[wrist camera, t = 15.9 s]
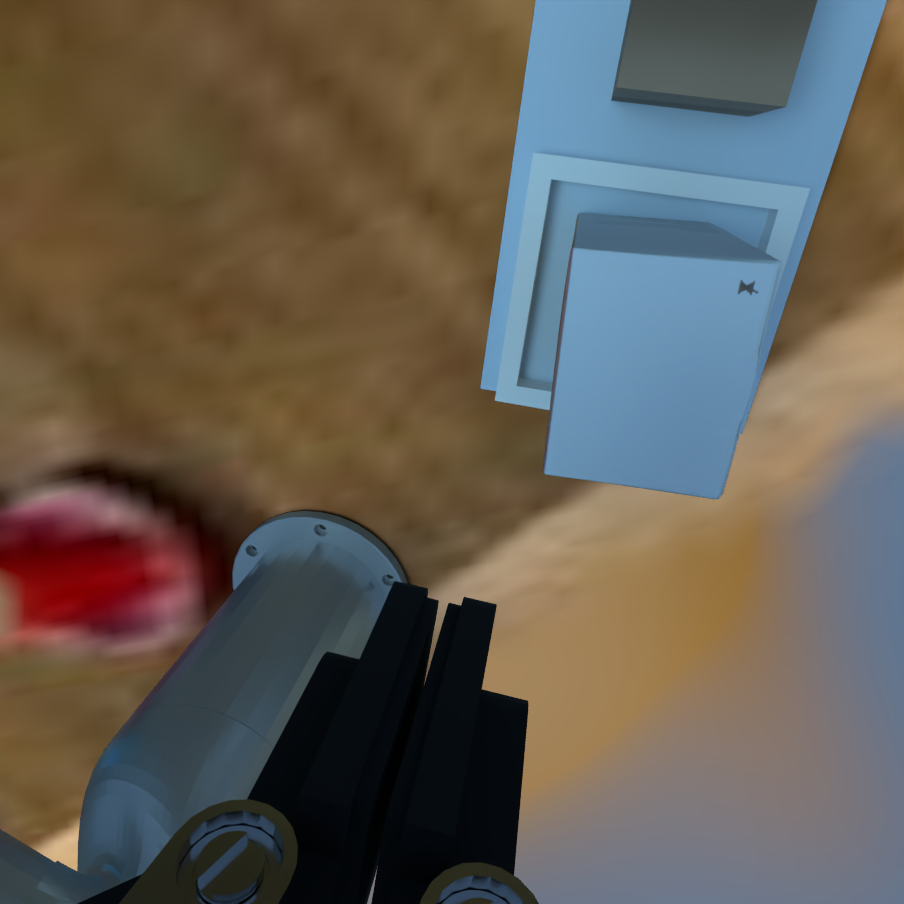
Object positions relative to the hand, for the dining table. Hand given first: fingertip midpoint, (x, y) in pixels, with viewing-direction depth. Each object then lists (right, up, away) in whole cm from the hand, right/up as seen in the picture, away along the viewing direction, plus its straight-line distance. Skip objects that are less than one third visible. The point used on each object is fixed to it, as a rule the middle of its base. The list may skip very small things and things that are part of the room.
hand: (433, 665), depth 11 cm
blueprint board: (+10, +16, +21) cm, 29 cm away
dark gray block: (+11, +21, +17) cm, 29 cm away
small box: (+9, +11, +22) cm, 27 cm away
